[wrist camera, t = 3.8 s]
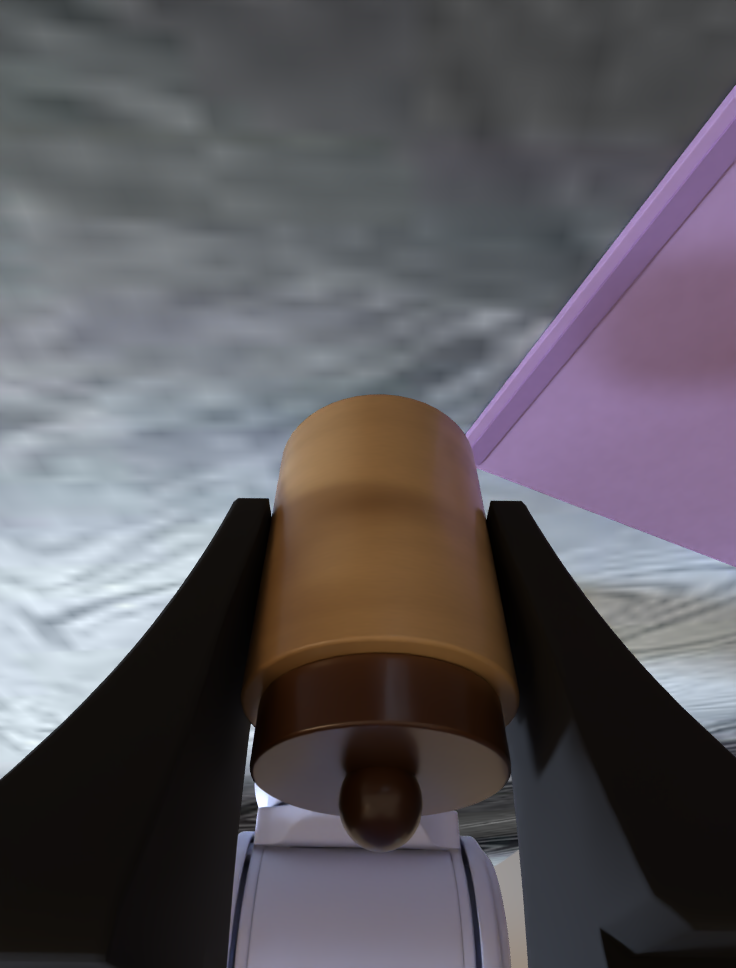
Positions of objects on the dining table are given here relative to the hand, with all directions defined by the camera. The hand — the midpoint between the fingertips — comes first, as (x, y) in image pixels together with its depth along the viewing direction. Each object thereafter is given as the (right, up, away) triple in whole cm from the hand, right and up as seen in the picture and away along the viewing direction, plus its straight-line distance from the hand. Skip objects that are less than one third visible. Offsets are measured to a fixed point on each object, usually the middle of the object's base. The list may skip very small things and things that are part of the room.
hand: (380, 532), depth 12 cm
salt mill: (0, +1, +1) cm, 2 cm away
